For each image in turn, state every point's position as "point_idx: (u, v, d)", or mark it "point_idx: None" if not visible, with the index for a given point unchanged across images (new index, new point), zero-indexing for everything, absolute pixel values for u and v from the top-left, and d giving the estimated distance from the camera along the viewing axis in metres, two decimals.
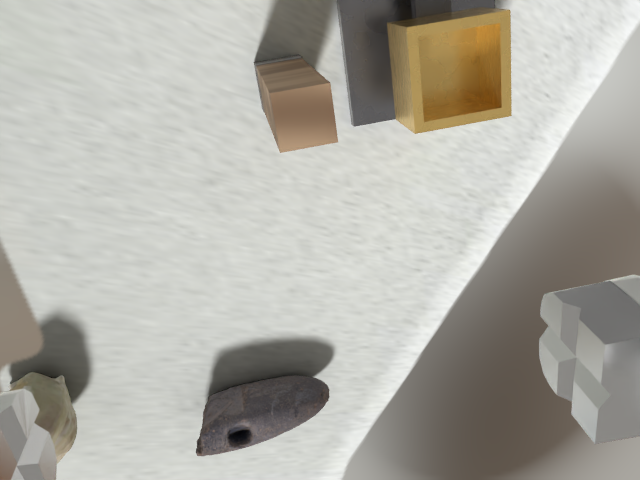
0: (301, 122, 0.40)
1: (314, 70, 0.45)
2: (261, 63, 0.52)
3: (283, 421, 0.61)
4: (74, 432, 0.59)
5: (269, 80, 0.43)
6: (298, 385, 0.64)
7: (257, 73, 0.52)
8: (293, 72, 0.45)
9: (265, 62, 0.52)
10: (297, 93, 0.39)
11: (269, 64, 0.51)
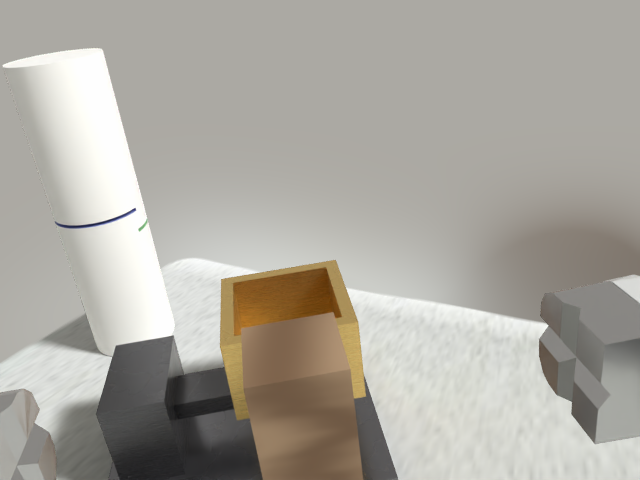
0: (297, 349, 0.24)
1: None
2: None
3: None
4: None
5: None
6: None
7: None
8: None
9: None
10: (249, 358, 0.24)
11: None
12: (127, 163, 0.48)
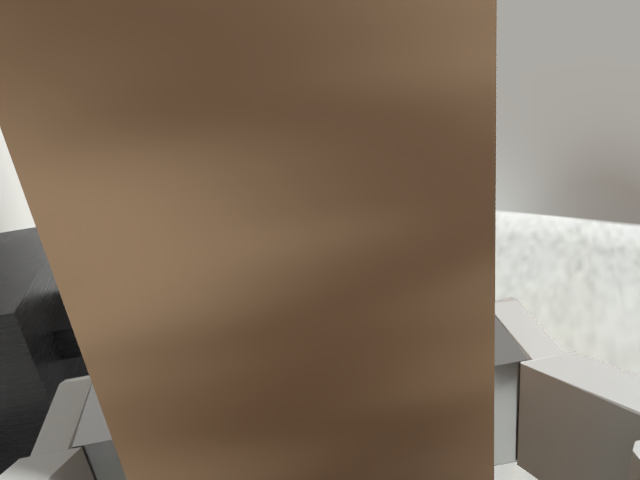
0: None
1: None
2: None
3: None
4: None
5: None
6: None
7: None
8: None
9: None
10: None
11: None
12: None
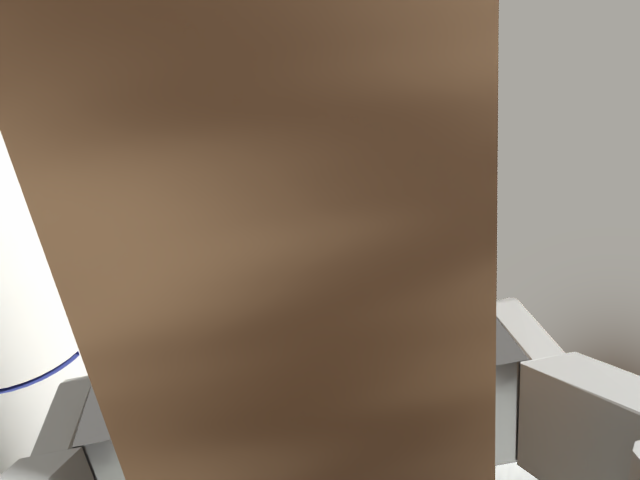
0: None
1: None
2: None
3: None
4: None
5: None
6: None
7: None
8: None
9: None
10: None
11: None
12: None
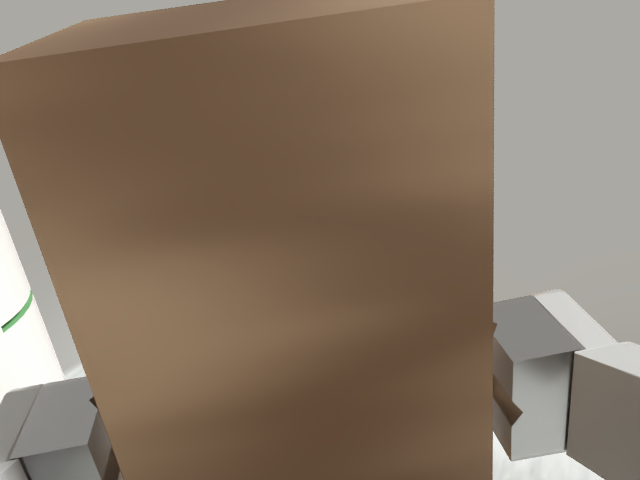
0: (258, 7, 0.06)
1: None
2: None
3: None
4: None
5: None
6: None
7: None
8: None
9: None
10: (69, 34, 0.06)
11: None
12: None
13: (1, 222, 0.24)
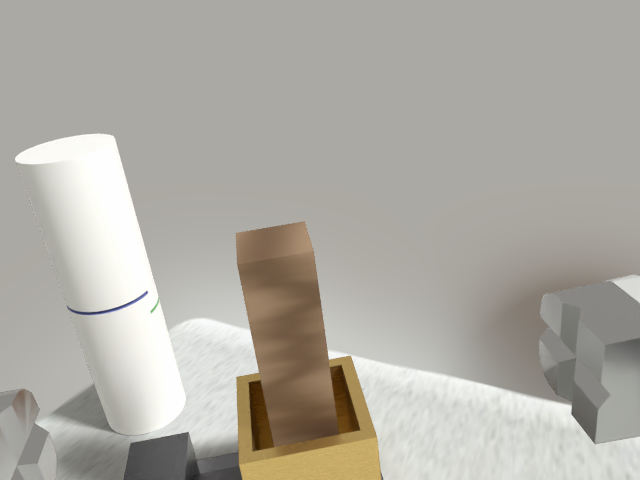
0: (277, 242, 0.33)
1: None
2: None
3: None
4: None
5: None
6: None
7: None
8: None
9: None
10: (241, 248, 0.33)
11: None
12: (139, 247, 0.48)
13: (148, 262, 0.50)
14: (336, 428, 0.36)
